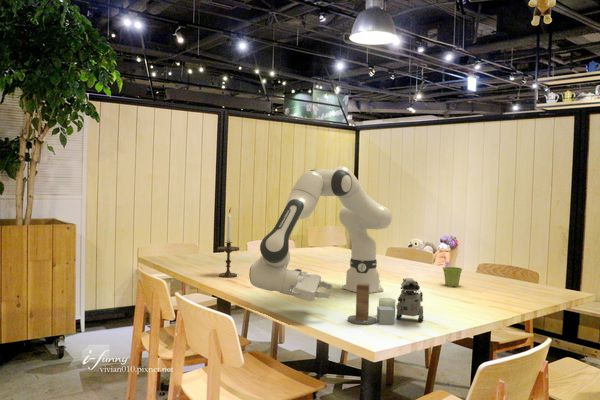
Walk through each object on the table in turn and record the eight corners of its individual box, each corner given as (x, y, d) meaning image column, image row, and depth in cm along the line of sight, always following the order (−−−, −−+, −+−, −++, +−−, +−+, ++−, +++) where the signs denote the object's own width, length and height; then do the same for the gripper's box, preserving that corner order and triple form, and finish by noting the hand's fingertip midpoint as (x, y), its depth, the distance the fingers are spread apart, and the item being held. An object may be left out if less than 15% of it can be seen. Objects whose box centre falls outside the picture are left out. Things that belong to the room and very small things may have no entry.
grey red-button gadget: (392, 323, 175) (394, 280, 174) (399, 316, 185) (400, 275, 185) (419, 327, 171) (420, 282, 171) (424, 319, 182) (426, 277, 181)
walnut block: (357, 316, 179) (358, 283, 179) (368, 317, 178) (369, 283, 178) (355, 319, 175) (356, 285, 175) (367, 320, 174) (368, 285, 174)
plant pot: (438, 285, 247) (438, 267, 247) (447, 283, 254) (448, 266, 253) (456, 288, 240) (457, 270, 240) (465, 286, 247) (465, 268, 247)
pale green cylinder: (378, 313, 188) (379, 297, 188) (395, 314, 187) (395, 298, 187) (377, 317, 182) (378, 300, 182) (394, 318, 181) (395, 302, 181)
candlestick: (242, 277, 255) (244, 207, 254) (222, 278, 249) (224, 207, 248) (232, 273, 264) (234, 206, 263) (213, 275, 258) (215, 206, 257)
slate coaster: (349, 316, 183) (349, 314, 183) (377, 318, 181) (377, 316, 180) (345, 323, 173) (346, 321, 173) (375, 325, 171) (375, 323, 171)
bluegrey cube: (376, 320, 178) (377, 306, 178) (390, 320, 179) (391, 306, 178) (379, 324, 173) (380, 309, 173) (394, 324, 174) (394, 310, 173)
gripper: (289, 283, 172) (329, 291, 170) (298, 267, 192) (334, 274, 190) (286, 300, 173) (325, 309, 171) (295, 283, 193) (331, 290, 191)
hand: (330, 291), depth 181 cm, fingers open, 8 cm apart
